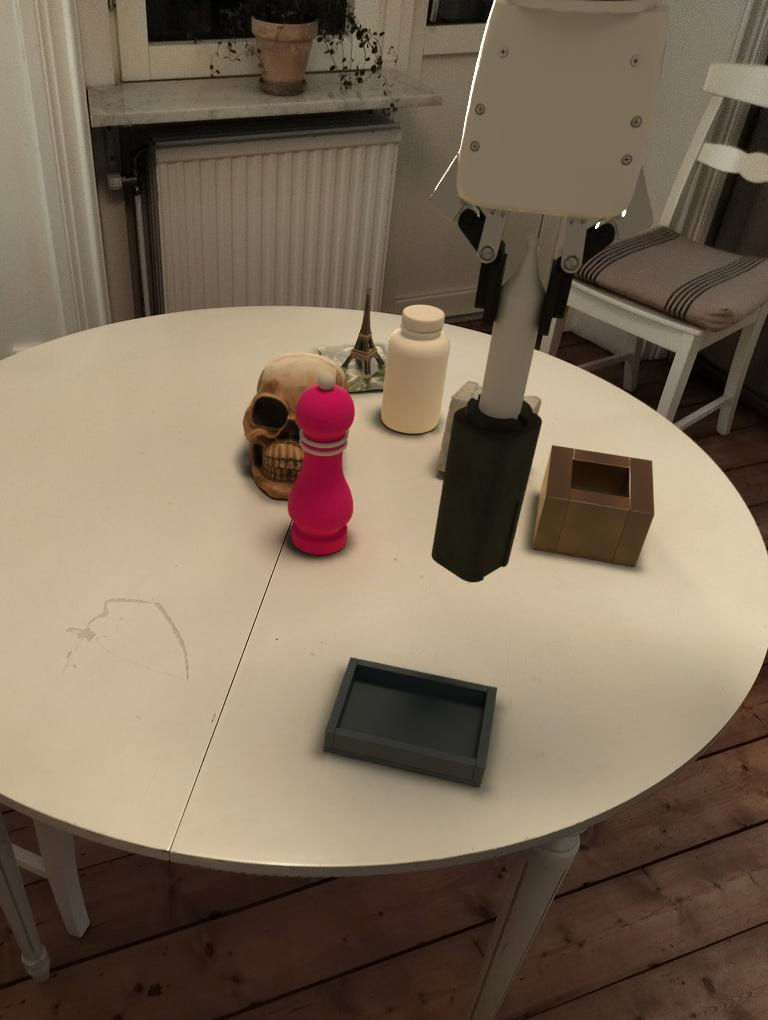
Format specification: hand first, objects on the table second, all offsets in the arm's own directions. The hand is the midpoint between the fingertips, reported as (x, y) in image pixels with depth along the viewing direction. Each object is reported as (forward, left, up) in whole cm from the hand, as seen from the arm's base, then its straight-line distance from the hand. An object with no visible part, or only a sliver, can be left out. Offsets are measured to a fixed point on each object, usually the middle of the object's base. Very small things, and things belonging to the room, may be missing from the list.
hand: (516, 321), depth 56 cm
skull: (+24, -36, -35) cm, 56 cm away
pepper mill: (+17, -20, -35) cm, 44 cm away
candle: (0, 0, -20) cm, 20 cm away
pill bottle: (+12, -50, -35) cm, 62 cm away
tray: (+2, +5, -35) cm, 36 cm away
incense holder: (+1, -40, -35) cm, 53 cm away
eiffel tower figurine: (+22, -63, -35) cm, 75 cm away
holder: (-12, -31, -35) cm, 48 cm away
